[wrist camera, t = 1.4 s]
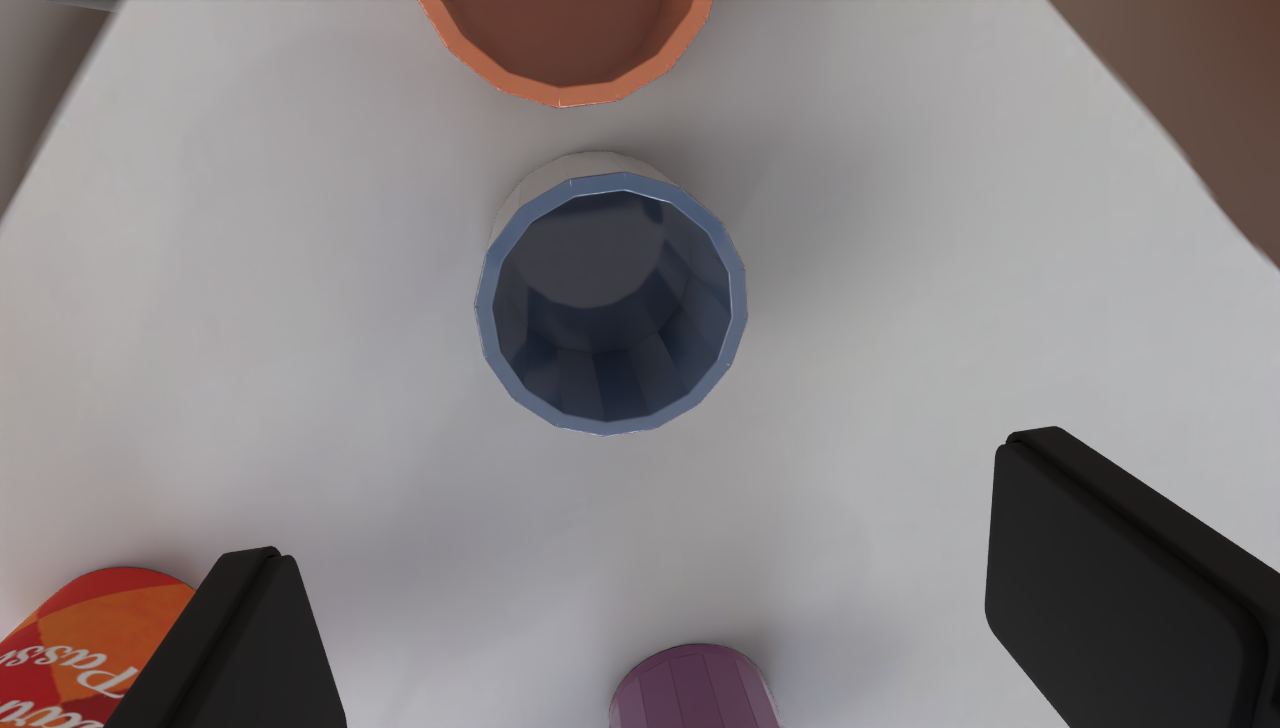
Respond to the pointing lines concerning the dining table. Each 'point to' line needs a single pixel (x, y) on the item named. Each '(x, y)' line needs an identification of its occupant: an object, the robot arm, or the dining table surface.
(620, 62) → the terracotta cup
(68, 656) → the coffee cup
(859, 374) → the dining table surface
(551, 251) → the blue faceted cup
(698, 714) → the plum cup
